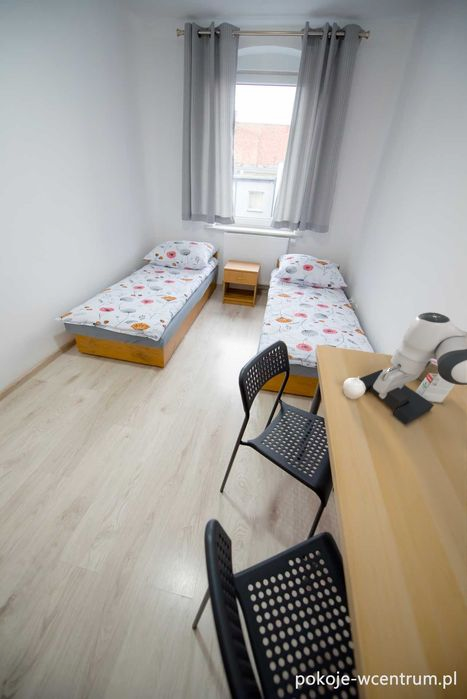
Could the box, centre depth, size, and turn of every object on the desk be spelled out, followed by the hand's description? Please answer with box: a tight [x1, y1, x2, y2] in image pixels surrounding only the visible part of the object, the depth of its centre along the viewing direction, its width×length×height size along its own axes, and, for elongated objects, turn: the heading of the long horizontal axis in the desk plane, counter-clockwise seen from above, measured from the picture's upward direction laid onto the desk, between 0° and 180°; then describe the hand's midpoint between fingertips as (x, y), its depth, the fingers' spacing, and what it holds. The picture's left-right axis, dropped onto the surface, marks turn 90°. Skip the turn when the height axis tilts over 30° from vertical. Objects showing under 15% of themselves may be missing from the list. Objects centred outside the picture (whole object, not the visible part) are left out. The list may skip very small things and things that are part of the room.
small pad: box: [368, 381, 410, 411], centre depth 93 cm, size 10×6×4 cm, turn 30°
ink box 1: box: [417, 359, 438, 382], centre depth 106 cm, size 10×4×8 cm, turn 48°
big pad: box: [359, 369, 435, 426], centre depth 96 cm, size 20×14×3 cm
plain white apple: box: [342, 375, 366, 400], centre depth 93 cm, size 7×7×8 cm
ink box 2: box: [415, 373, 456, 404], centre depth 94 cm, size 4×8×15 cm, turn 85°
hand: (388, 393), depth 93 cm, fingers closed on small pad, 6 cm apart
